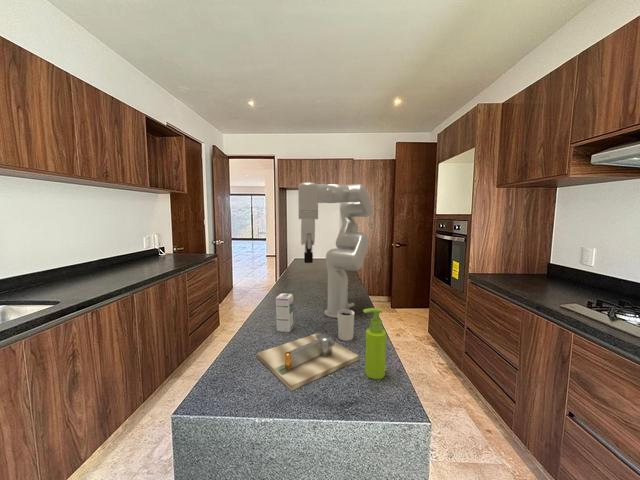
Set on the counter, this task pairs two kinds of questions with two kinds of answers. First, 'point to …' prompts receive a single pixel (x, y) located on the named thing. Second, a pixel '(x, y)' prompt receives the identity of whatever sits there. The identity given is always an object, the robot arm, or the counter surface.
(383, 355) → the soap dispenser
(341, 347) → the dial board
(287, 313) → the syrup box
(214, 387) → the counter surface
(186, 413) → the counter surface
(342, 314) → the white cup
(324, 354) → the lever
